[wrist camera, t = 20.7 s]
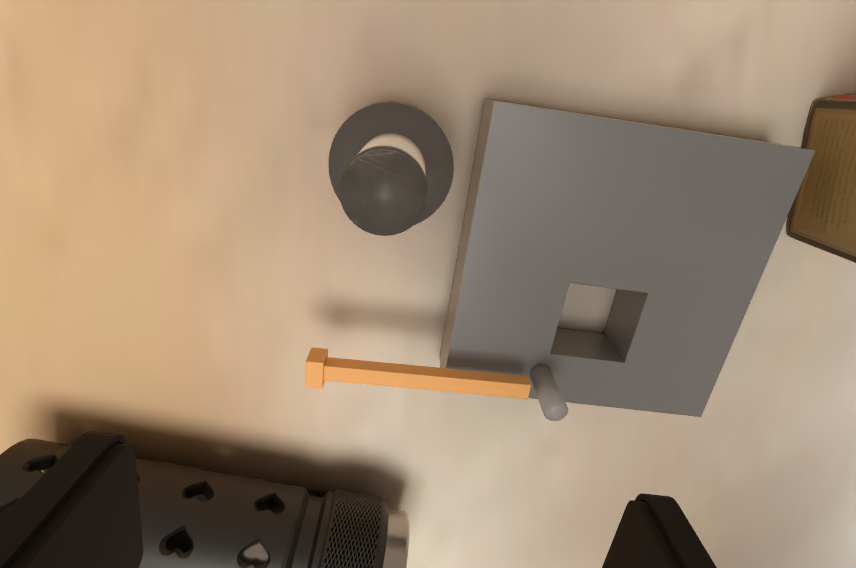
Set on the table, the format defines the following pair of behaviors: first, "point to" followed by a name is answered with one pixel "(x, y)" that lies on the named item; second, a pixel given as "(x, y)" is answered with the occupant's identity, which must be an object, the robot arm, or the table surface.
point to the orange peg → (411, 376)
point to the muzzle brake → (236, 517)
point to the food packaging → (828, 179)
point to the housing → (612, 254)
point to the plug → (390, 167)
